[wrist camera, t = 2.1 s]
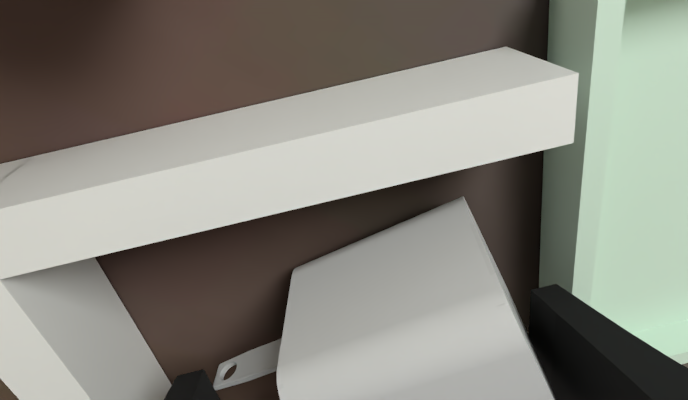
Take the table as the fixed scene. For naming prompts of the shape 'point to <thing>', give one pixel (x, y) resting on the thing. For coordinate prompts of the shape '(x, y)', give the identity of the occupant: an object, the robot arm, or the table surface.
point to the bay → (234, 197)
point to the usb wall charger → (401, 322)
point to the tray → (622, 167)
